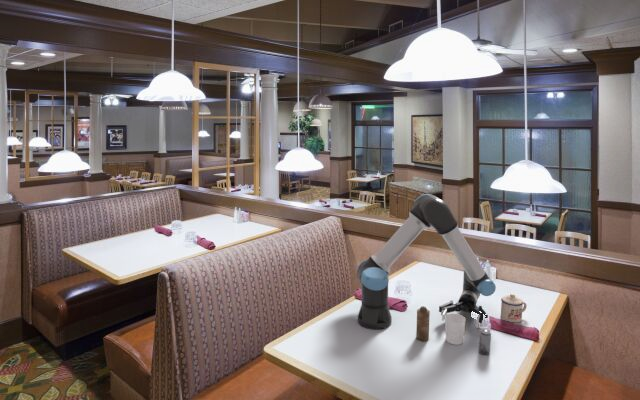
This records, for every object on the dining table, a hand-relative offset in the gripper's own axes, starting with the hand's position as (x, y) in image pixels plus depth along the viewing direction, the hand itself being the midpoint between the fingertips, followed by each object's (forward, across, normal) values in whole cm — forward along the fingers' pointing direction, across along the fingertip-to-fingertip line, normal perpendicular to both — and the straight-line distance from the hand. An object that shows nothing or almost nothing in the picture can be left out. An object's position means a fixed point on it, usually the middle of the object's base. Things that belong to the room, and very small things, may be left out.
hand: (459, 321), depth 174 cm
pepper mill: (+10, +13, -6) cm, 17 cm away
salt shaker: (+10, -11, -6) cm, 16 cm away
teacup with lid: (-26, -20, -6) cm, 33 cm away
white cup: (+6, +1, -6) cm, 9 cm away
